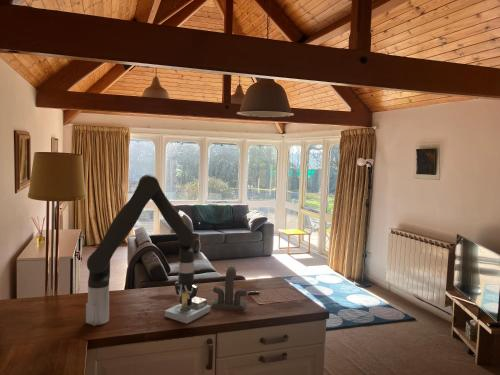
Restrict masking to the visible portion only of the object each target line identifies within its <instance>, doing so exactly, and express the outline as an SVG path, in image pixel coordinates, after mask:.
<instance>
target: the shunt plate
mask: <svg viewBox="0 0 500 375" xmlns="http://www.w3.org/2000/svg"><path fill="white" fill-rule="evenodd" d="M204 305H208V300H207V299H206V298H203V297H199V296H196V297H194V298H192V304H191V305H190V306H192V307H195V308H200V307H202V306H204Z"/></svg>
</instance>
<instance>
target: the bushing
mask: <svg viewBox="0 0 500 375" xmlns="http://www.w3.org/2000/svg"><path fill="white" fill-rule="evenodd" d="M188 292H189V291H188ZM187 299H188V297H187V294H186V291H183V292H182V309H189V308H190V306H187Z"/></svg>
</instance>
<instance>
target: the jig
mask: <svg viewBox="0 0 500 375" xmlns="http://www.w3.org/2000/svg"><path fill="white" fill-rule="evenodd" d="M210 312H211V305H208V304H206V305H204V306H202V307H200V308H195V307H192V306H190V308H189V309H182V304H180V303H179V304H177V305H173V306H172V307H169V308H168V309H166V310H164V317H165V318H169V319H172V320H175V321H177V322H180V323H184V324H189V323H191V322H193V321H195V320H197V319H199V318H201V317H203V316H204V315H207V314H208V313H210Z"/></svg>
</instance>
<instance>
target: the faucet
mask: <svg viewBox="0 0 500 375" xmlns="http://www.w3.org/2000/svg"><path fill="white" fill-rule="evenodd" d="M225 272H226V273H225V280H224V290H223V289H222V288H221V287H219V286H214V287H213V289H212V291H213V293H216V294H217V299H214V300H213V303H212V304H211V305H210V309H219V310H220V309H221V310H235V311H245V308H246V306H247V305H246V304H247V303H246V301H242V300H241V297H247V293H248V292H247V291H248V290H247V289H238V290H236V291H235V293H234V283H235V282H234V281H235V278H236V277H237V270H236V268H235V267H234V266H231V265H230V266H229V267H227V269H226V271H225Z"/></svg>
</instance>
